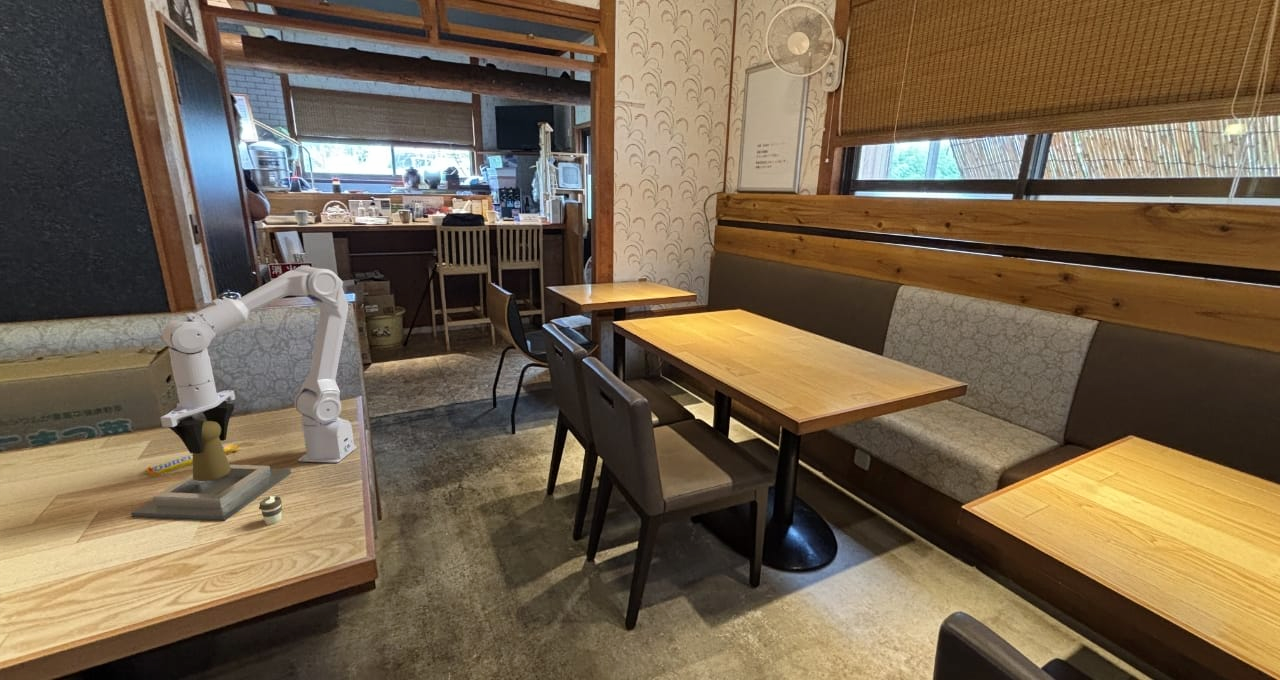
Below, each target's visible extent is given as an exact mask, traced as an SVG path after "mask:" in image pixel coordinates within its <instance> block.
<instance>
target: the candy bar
mask: <svg viewBox="0 0 1280 680" xmlns="http://www.w3.org/2000/svg"><path fill="white" fill-rule="evenodd" d="M222 446H223V445H222ZM223 449H224V452H225V454H226V456H227V455H230V454H232V453H233V452H235V451H238V450H240V449H241V447H240V446H239V445H238V444H237V443H236V442H235V443H233V444H232V445H224V446H223ZM186 466H187V467H189V466H193V454H191V455H187V456H184V457H181V458H177V459H173V460H171V461H167V462H164V463H161V464H158V465H155V466H153V467H151V465H149V466H148V467H147V468H146V470H144V472H145V473H147V474H149V475H151V476H153V477H155V475H156V476H158V474H159V475H162V474H161V473H163V474H166V473H169V471H170V472H172V471H177V470H179V468H180V469H183V468H186ZM165 472H166V473H165Z"/></svg>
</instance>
